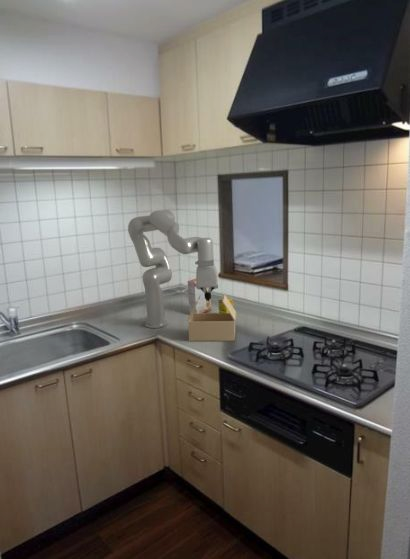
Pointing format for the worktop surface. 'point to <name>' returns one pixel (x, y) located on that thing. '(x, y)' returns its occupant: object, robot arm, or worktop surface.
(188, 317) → the flap
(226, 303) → the flap
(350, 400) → the worktop surface
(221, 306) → the supplement box
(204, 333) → the carton
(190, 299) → the cracker box
